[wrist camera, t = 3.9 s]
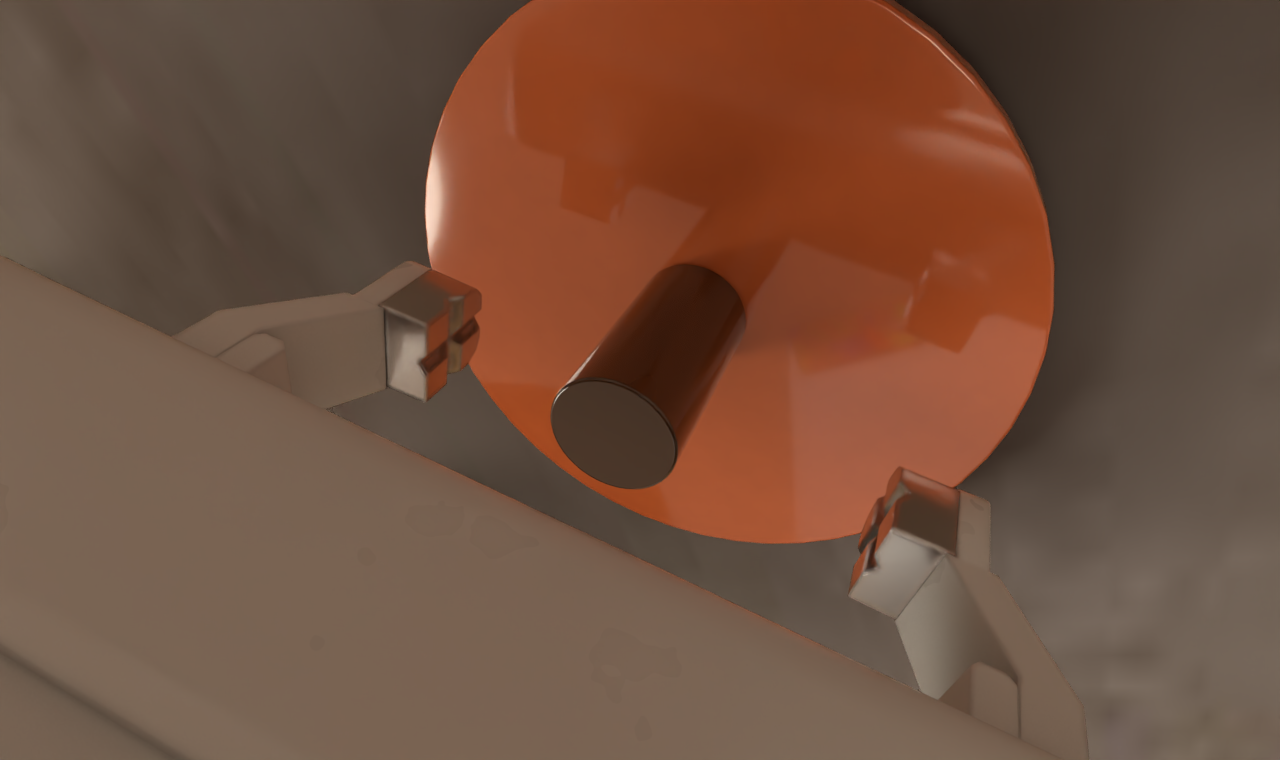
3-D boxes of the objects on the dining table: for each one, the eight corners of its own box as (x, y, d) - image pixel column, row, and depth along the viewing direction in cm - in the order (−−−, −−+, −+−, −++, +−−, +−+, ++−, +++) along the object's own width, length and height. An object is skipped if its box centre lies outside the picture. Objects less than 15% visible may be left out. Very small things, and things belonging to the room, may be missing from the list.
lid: (478, 433, 23) (358, 567, 18) (415, -87, 15) (172, -65, 10) (934, 576, 19) (917, 786, 15) (1198, -17, 11) (1334, 63, 6)
